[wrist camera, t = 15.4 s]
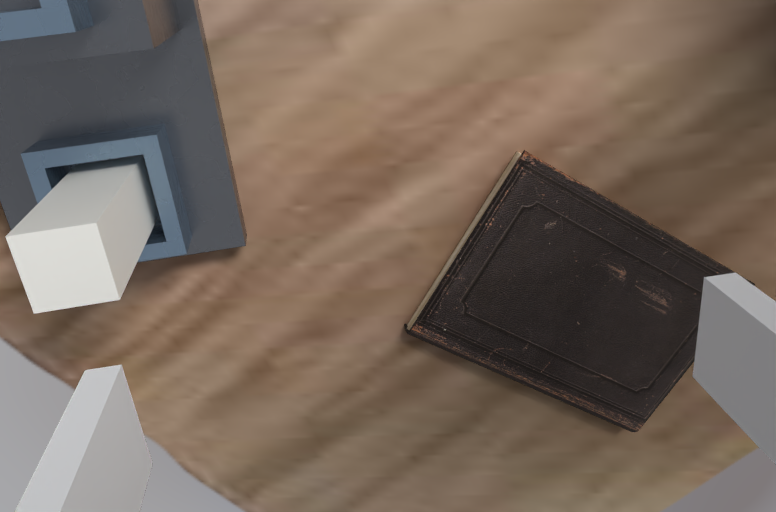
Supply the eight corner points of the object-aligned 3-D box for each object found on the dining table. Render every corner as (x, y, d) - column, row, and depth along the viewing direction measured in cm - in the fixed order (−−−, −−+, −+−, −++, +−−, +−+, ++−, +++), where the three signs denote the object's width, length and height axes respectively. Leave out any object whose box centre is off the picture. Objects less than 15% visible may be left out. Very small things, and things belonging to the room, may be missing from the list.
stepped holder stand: (-107, -141, 36) (-342, -206, 22) (162, -167, 37) (97, -243, 23) (38, 267, 45) (-63, 396, 32) (246, 234, 47) (235, 345, 33)
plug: (76, 164, 41) (5, 236, 30) (143, 155, 42) (96, 222, 31) (98, 236, 43) (39, 328, 32) (161, 226, 44) (124, 314, 33)
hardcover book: (514, 143, 48) (525, 151, 46) (737, 272, 55) (756, 284, 53) (401, 322, 52) (407, 337, 50) (622, 419, 60) (634, 436, 57)
